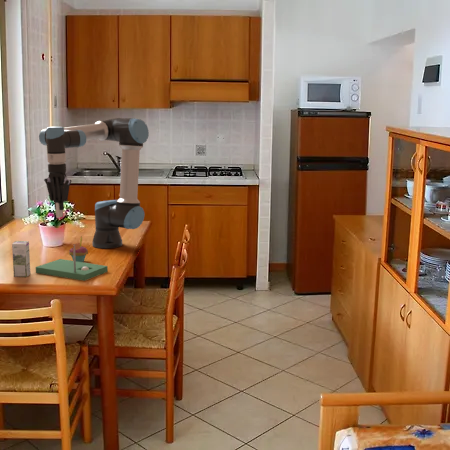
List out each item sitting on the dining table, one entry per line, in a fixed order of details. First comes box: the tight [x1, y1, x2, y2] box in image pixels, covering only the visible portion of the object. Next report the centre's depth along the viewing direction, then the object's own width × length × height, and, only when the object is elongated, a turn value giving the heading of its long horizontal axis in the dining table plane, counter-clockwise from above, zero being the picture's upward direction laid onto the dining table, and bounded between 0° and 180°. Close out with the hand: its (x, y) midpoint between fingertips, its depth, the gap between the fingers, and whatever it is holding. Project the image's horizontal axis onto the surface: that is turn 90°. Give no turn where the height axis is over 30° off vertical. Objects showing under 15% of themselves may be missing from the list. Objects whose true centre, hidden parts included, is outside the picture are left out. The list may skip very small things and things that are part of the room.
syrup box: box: [11, 240, 31, 278], centre depth 266 cm, size 6×6×14 cm
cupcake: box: [68, 235, 89, 263], centre depth 290 cm, size 9×8×12 cm
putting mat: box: [35, 242, 109, 282], centre depth 272 cm, size 16×26×14 cm, turn 64°
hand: (59, 217), depth 276 cm, fingers closed
